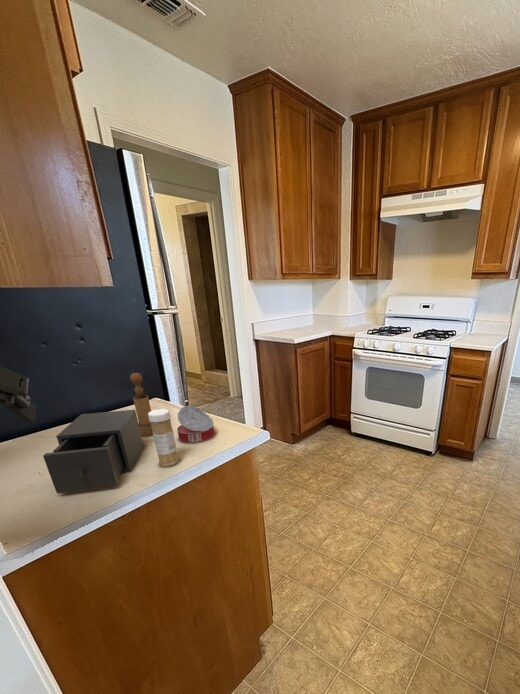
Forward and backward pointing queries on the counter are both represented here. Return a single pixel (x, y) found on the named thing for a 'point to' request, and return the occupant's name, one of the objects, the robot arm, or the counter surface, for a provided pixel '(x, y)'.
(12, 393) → the robot arm
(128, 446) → the small drawer cabinet
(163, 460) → the sprinkles bottle
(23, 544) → the counter surface
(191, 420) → the canned food
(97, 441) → the pull-out drawer box
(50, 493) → the counter surface
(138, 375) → the mortar and pestle
